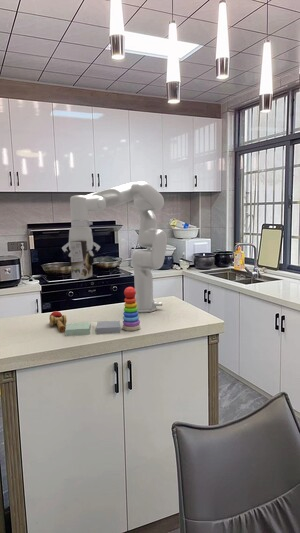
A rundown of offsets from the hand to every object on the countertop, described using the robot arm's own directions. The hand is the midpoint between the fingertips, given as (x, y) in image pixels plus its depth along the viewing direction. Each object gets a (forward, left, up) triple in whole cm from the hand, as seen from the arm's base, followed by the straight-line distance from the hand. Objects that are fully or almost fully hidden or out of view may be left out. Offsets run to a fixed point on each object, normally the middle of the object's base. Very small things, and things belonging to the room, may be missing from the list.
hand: (81, 265), depth 163 cm
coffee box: (0, 0, -6) cm, 6 cm away
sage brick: (+3, +4, -29) cm, 29 cm away
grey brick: (-10, +4, -29) cm, 31 cm away
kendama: (+12, -5, -29) cm, 32 cm away
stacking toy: (-20, +4, -29) cm, 35 cm away
